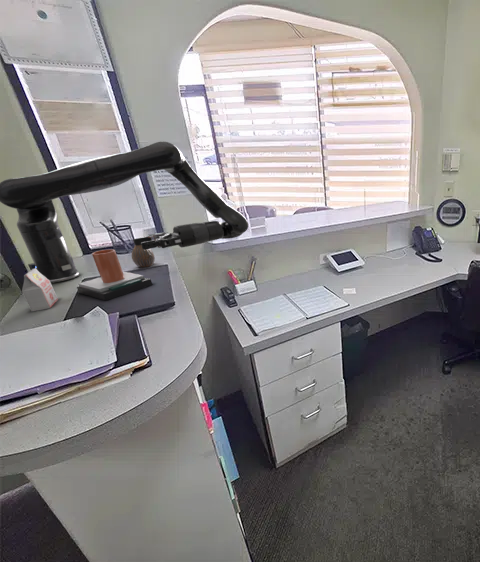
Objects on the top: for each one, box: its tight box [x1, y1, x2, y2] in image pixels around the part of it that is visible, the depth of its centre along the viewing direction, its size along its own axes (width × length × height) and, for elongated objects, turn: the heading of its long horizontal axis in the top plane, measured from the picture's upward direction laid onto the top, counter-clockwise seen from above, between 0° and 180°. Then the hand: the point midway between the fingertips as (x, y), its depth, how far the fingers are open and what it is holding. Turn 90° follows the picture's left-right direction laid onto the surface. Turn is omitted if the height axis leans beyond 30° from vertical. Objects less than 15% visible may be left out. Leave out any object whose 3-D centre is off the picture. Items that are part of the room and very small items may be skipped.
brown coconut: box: [130, 244, 156, 268], centre depth 117 cm, size 7×7×9 cm
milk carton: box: [21, 268, 59, 312], centre depth 85 cm, size 4×7×10 cm, turn 30°
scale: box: [76, 270, 153, 301], centre depth 96 cm, size 15×13×3 cm
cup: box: [91, 248, 125, 283], centre depth 94 cm, size 5×5×9 cm
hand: (137, 244), depth 98 cm, fingers open, 8 cm apart
